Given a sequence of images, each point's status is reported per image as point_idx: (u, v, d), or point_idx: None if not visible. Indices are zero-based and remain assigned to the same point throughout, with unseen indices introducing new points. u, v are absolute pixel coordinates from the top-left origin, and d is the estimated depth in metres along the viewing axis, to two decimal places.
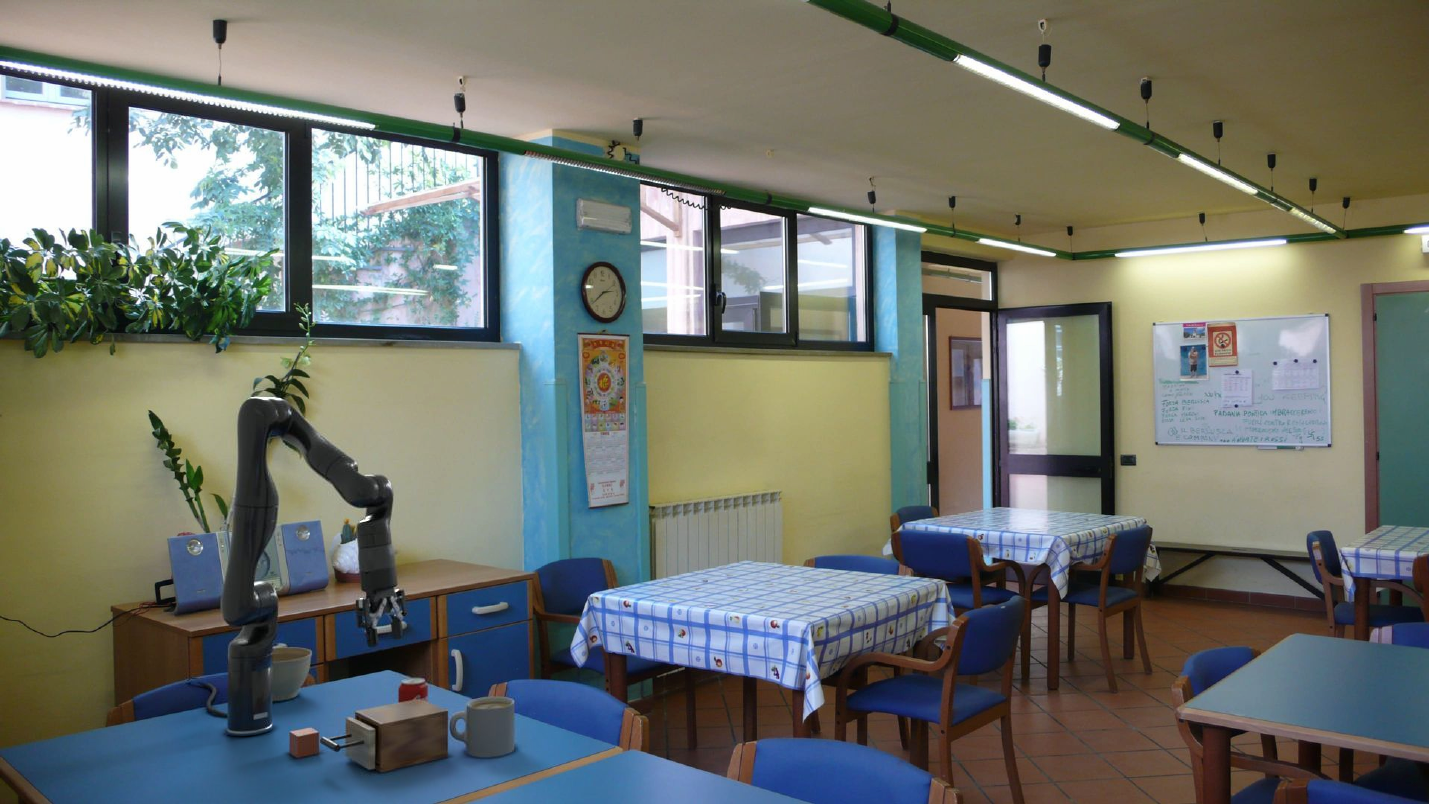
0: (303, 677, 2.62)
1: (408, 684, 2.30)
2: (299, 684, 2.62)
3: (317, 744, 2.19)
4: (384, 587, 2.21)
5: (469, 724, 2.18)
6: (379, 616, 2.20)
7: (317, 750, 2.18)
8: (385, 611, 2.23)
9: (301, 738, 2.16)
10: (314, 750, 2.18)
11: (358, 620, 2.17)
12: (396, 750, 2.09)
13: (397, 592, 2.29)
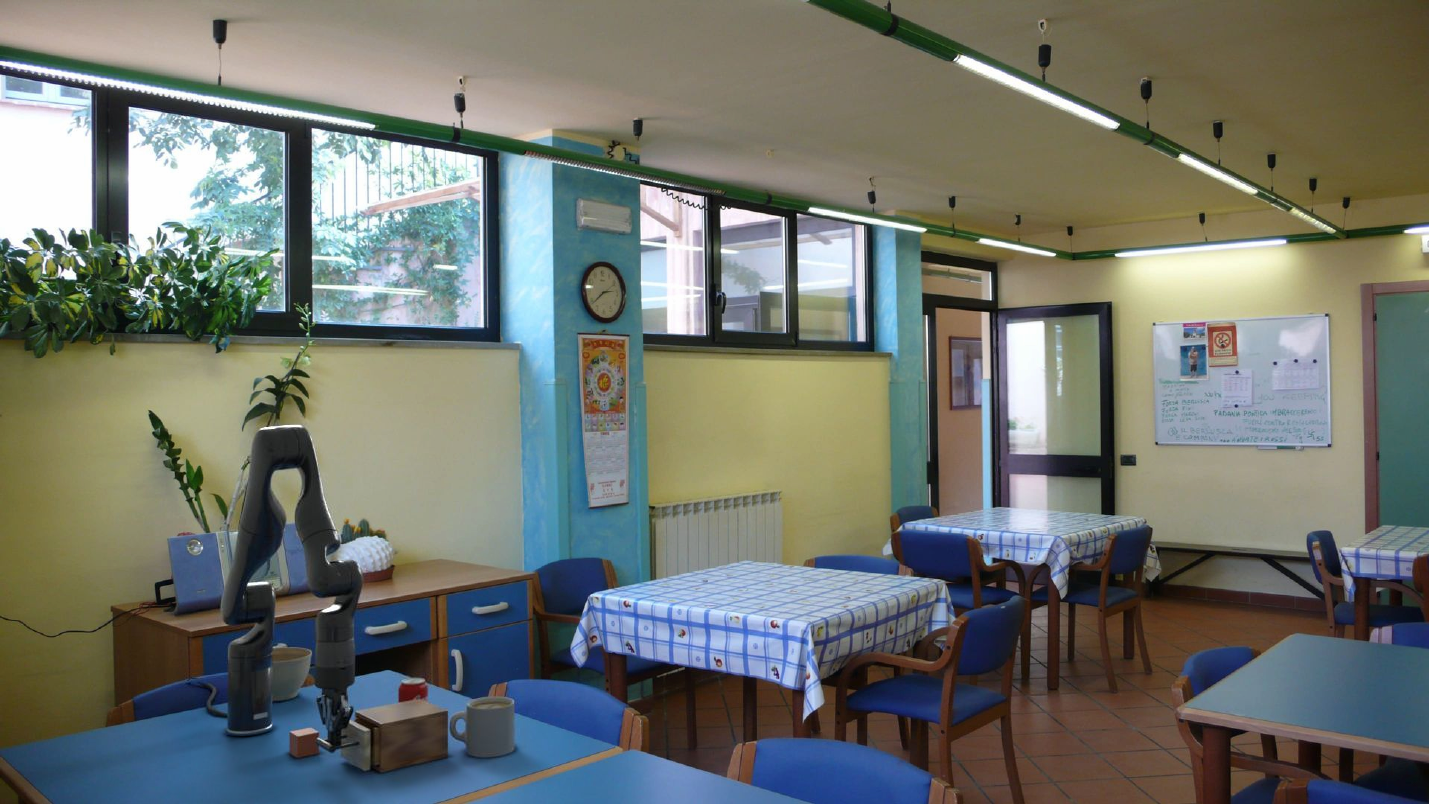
0: (303, 677, 2.62)
1: (408, 684, 2.30)
2: (299, 684, 2.62)
3: None
4: None
5: (469, 724, 2.18)
6: None
7: (317, 750, 2.18)
8: None
9: (301, 738, 2.16)
10: (314, 750, 2.18)
11: (337, 726, 2.04)
12: (396, 750, 2.09)
13: None
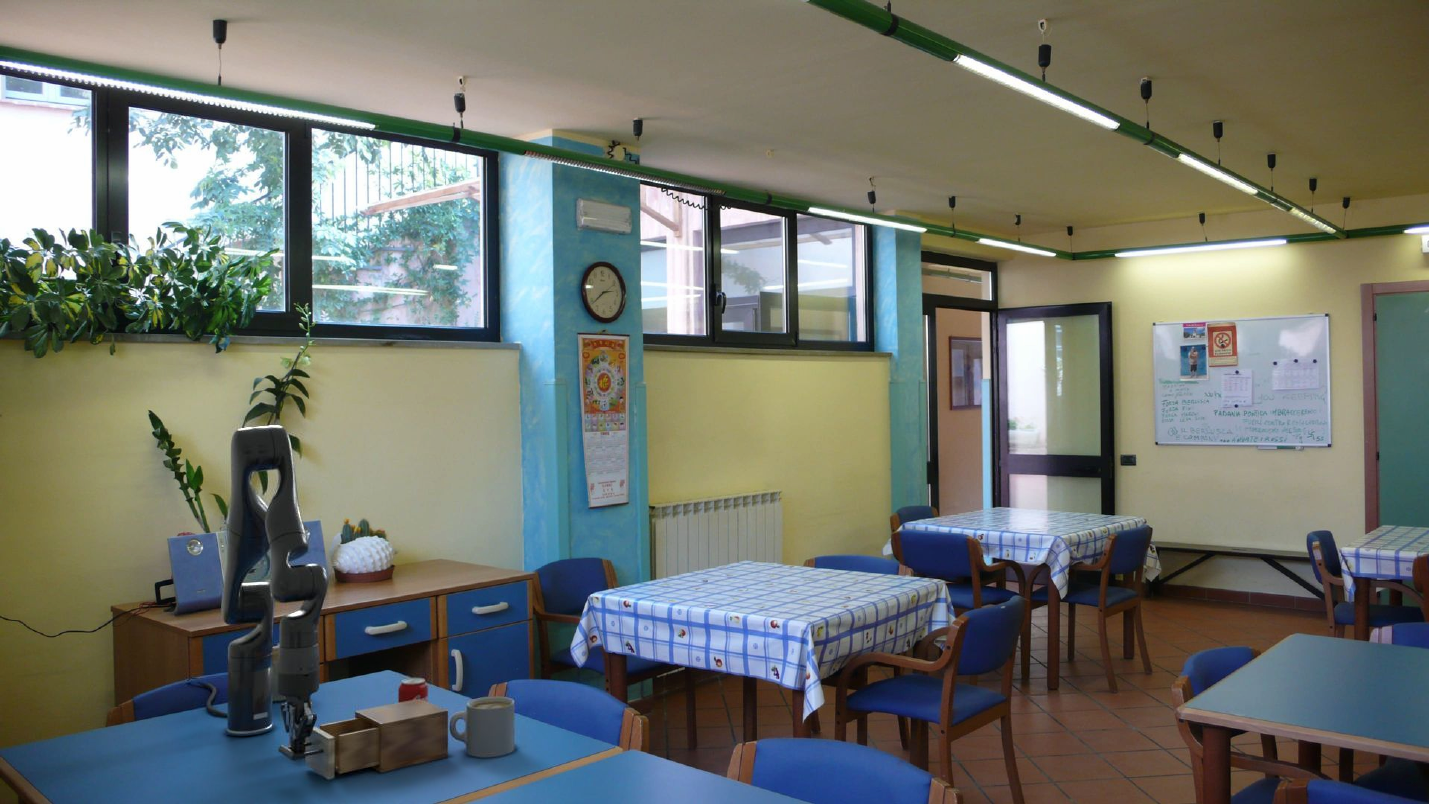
0: None
1: (408, 684, 2.30)
2: None
3: None
4: (318, 689, 2.03)
5: (469, 724, 2.18)
6: None
7: None
8: None
9: None
10: None
11: (300, 734, 1.99)
12: (396, 750, 2.09)
13: None
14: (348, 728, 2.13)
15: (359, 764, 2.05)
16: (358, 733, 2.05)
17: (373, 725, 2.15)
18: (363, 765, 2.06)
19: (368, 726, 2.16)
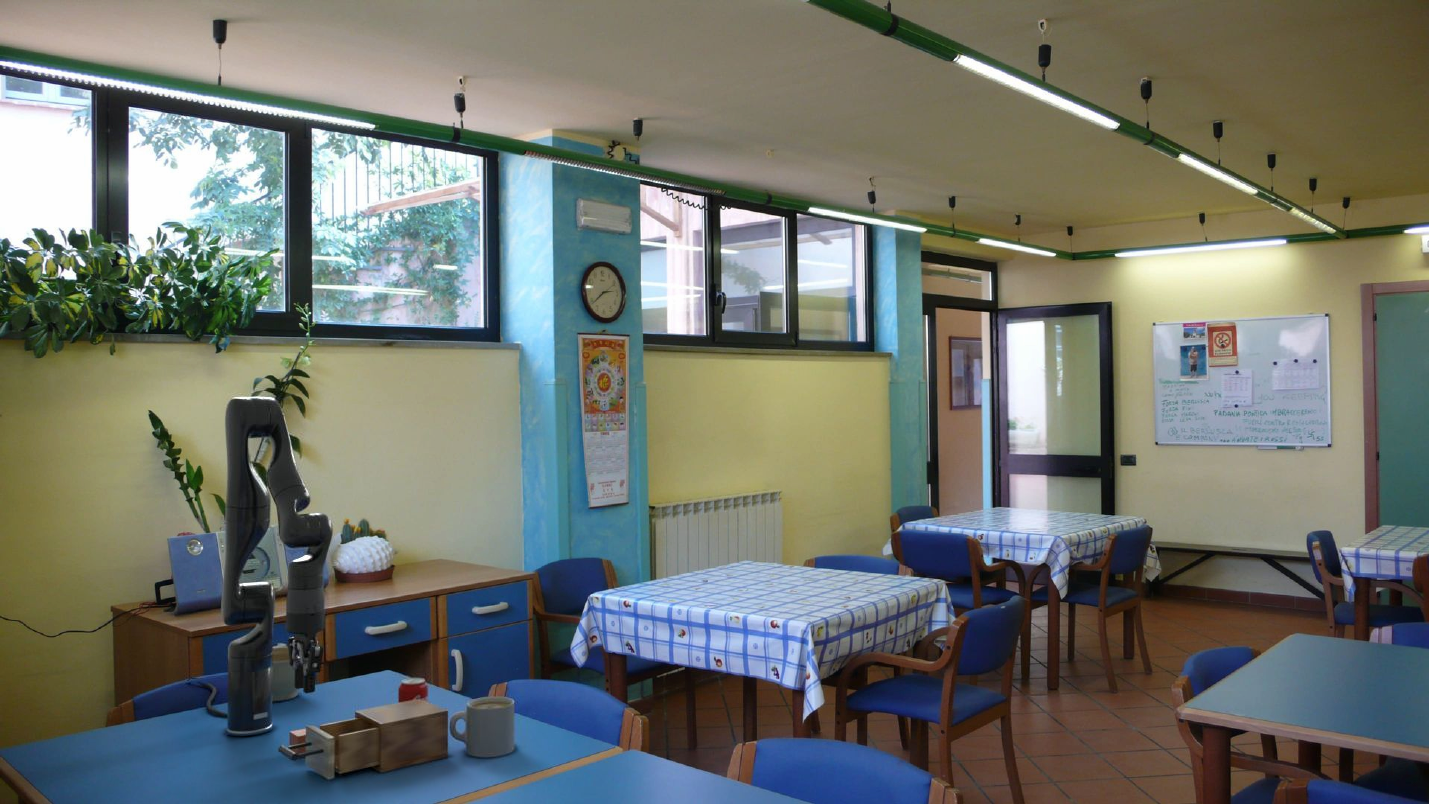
0: None
1: (408, 684, 2.30)
2: None
3: None
4: (323, 628, 2.20)
5: (469, 724, 2.18)
6: None
7: None
8: None
9: (301, 738, 2.16)
10: None
11: (310, 667, 2.15)
12: (396, 750, 2.09)
13: None
14: (347, 728, 2.13)
15: (359, 764, 2.05)
16: (358, 733, 2.05)
17: (373, 725, 2.15)
18: (363, 765, 2.06)
19: (368, 726, 2.16)
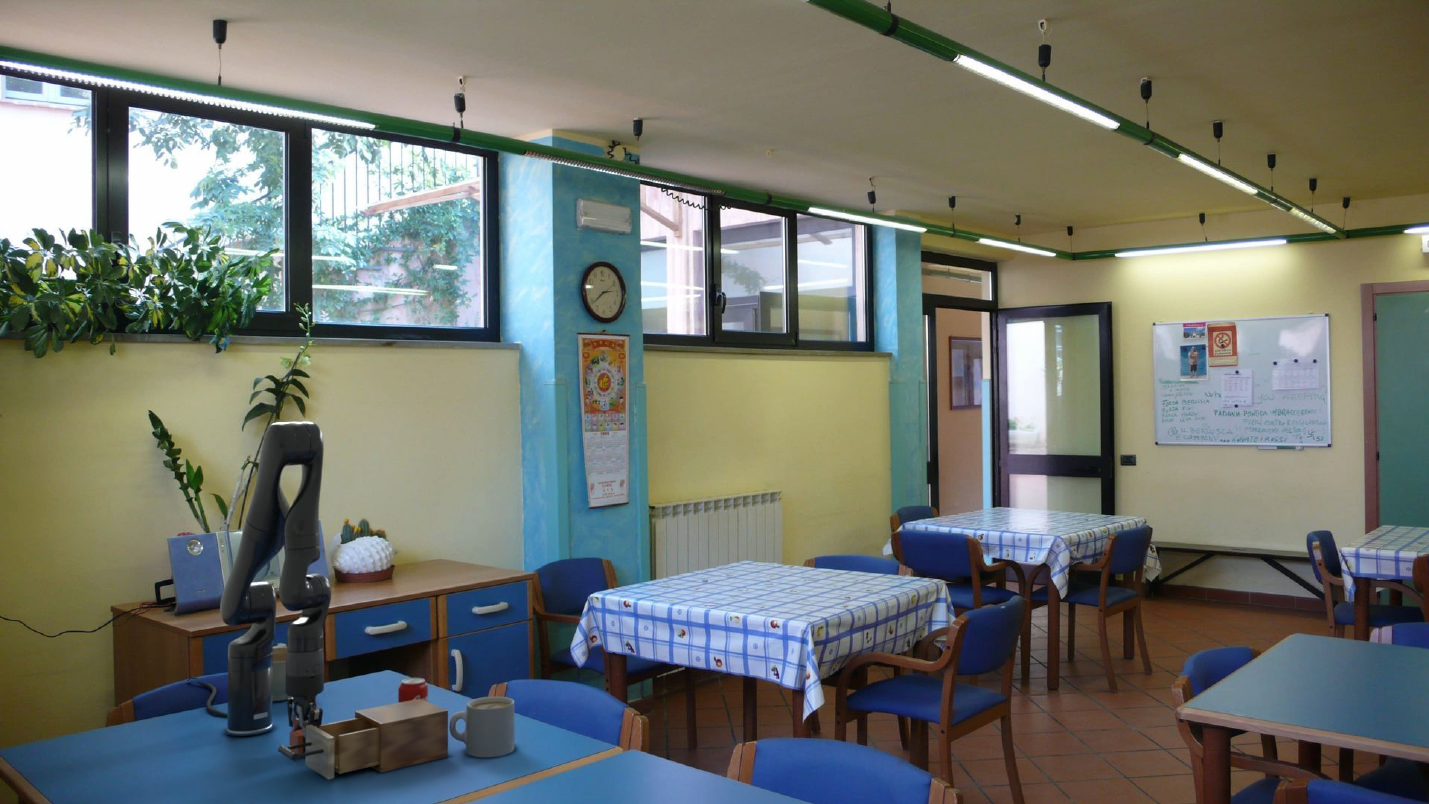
0: None
1: (408, 684, 2.30)
2: None
3: None
4: (322, 690, 2.19)
5: (469, 724, 2.18)
6: None
7: None
8: None
9: (301, 738, 2.16)
10: None
11: None
12: (396, 750, 2.09)
13: None
14: (347, 728, 2.13)
15: (359, 764, 2.05)
16: (358, 733, 2.05)
17: (373, 725, 2.15)
18: (363, 765, 2.06)
19: (368, 726, 2.16)
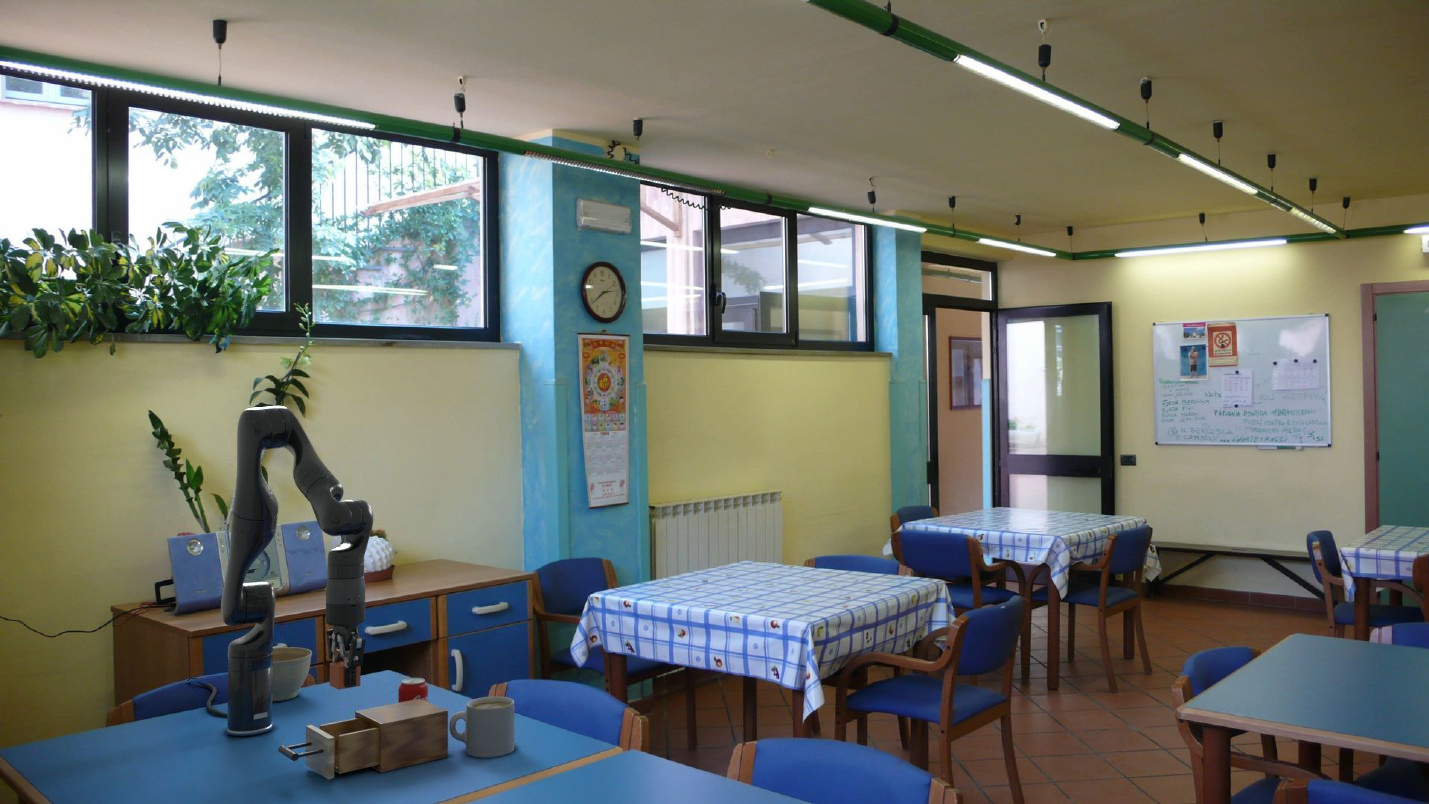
0: (303, 677, 2.62)
1: (408, 684, 2.30)
2: (299, 684, 2.62)
3: (358, 676, 2.09)
4: (364, 620, 2.10)
5: (469, 724, 2.18)
6: None
7: (358, 682, 2.09)
8: None
9: (343, 669, 2.07)
10: None
11: (352, 660, 2.05)
12: (396, 750, 2.09)
13: None
14: (347, 728, 2.13)
15: (359, 764, 2.05)
16: (358, 733, 2.05)
17: (373, 725, 2.15)
18: (363, 765, 2.06)
19: (368, 726, 2.16)
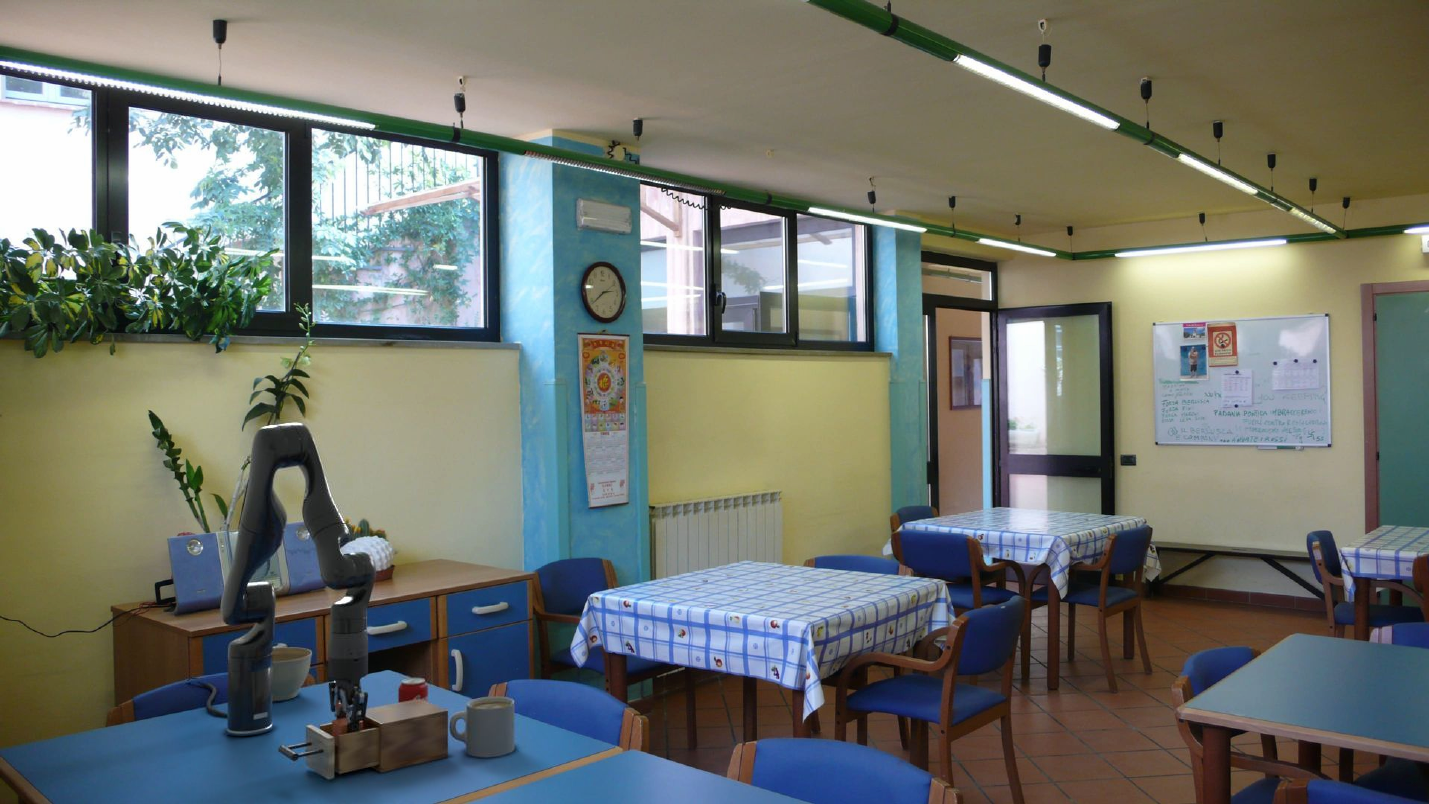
0: (303, 677, 2.62)
1: (408, 684, 2.30)
2: (299, 684, 2.62)
3: None
4: None
5: (469, 724, 2.18)
6: None
7: None
8: None
9: (345, 727, 2.06)
10: None
11: (355, 715, 2.04)
12: (396, 750, 2.09)
13: None
14: None
15: (359, 764, 2.05)
16: (358, 733, 2.05)
17: (373, 725, 2.15)
18: (363, 765, 2.06)
19: (368, 726, 2.16)
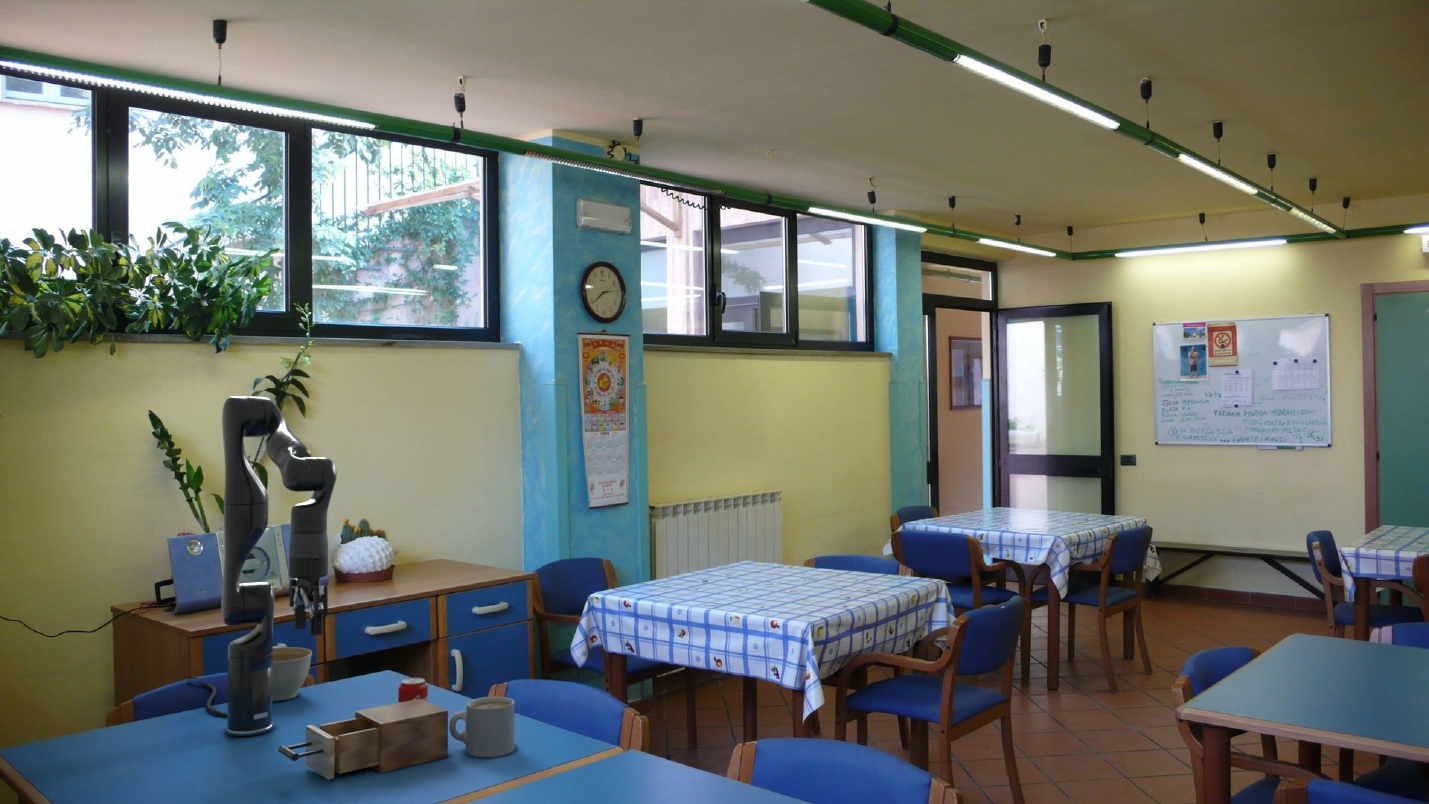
0: (303, 677, 2.62)
1: (408, 684, 2.30)
2: (299, 684, 2.62)
3: None
4: (326, 574, 2.16)
5: (469, 724, 2.18)
6: None
7: None
8: None
9: None
10: None
11: (317, 607, 2.10)
12: (396, 750, 2.09)
13: None
14: (347, 728, 2.13)
15: (359, 764, 2.05)
16: (358, 733, 2.05)
17: (373, 725, 2.15)
18: (363, 765, 2.06)
19: (368, 726, 2.16)
